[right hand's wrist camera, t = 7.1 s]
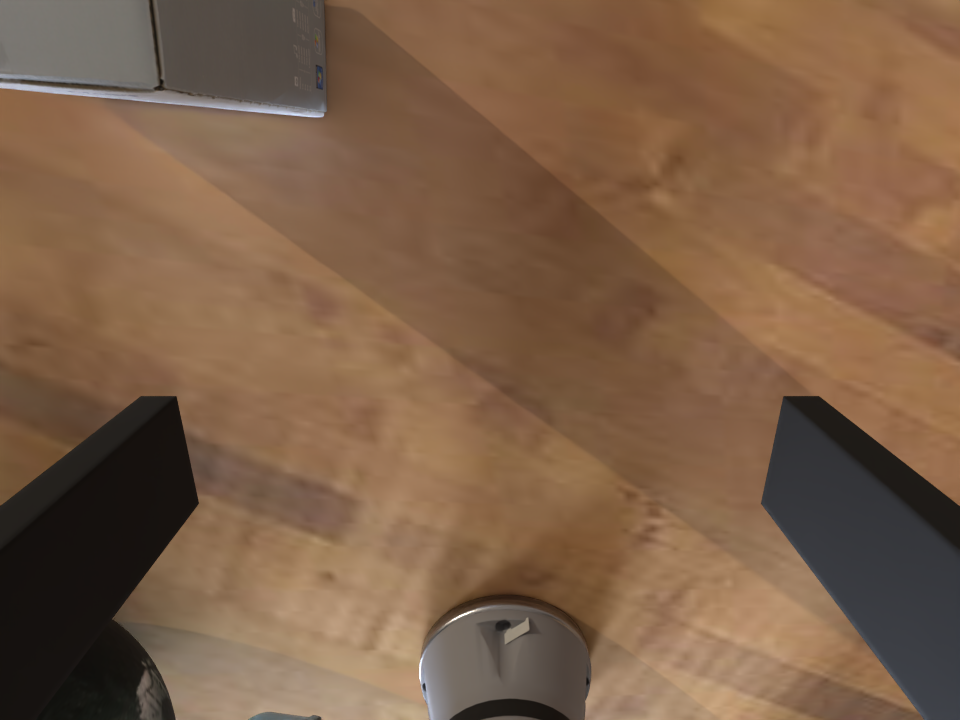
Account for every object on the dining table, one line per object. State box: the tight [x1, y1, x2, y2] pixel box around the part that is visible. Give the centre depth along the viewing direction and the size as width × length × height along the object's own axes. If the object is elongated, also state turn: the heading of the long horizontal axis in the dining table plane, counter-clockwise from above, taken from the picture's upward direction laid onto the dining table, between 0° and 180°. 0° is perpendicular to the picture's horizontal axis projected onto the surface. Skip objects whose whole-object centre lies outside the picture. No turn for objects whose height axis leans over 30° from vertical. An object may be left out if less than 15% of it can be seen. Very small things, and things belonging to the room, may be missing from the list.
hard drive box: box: [0, 0, 327, 117], centre depth 26 cm, size 16×8×20 cm, turn 86°
